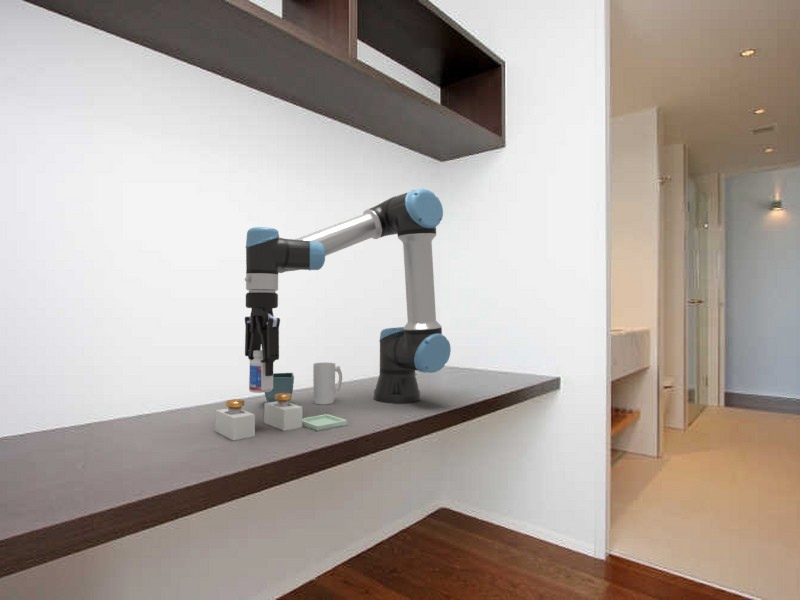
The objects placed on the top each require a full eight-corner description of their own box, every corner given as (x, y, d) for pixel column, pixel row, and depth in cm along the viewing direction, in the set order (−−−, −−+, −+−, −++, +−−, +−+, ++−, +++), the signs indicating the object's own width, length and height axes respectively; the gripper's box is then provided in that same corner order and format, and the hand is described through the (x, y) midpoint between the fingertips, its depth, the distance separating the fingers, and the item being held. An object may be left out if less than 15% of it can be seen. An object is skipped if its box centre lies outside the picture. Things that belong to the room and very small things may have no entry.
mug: (320, 405, 140) (320, 365, 140) (308, 402, 145) (309, 363, 145) (347, 401, 147) (348, 363, 147) (335, 398, 152) (336, 361, 152)
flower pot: (262, 408, 135) (263, 377, 135) (263, 402, 144) (263, 373, 144) (293, 407, 138) (294, 376, 138) (292, 401, 146) (292, 372, 146)
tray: (327, 418, 125) (327, 413, 125) (347, 425, 118) (347, 420, 118) (297, 424, 119) (297, 419, 119) (317, 431, 112) (317, 426, 112)
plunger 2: (286, 419, 120) (286, 392, 120) (294, 422, 117) (294, 394, 117) (271, 422, 118) (272, 394, 118) (279, 425, 115) (280, 396, 115)
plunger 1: (239, 428, 112) (239, 398, 112) (246, 431, 109) (247, 401, 109) (222, 430, 109) (223, 400, 109) (229, 434, 106) (230, 403, 106)
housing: (281, 419, 123) (282, 400, 123) (302, 427, 116) (302, 407, 116) (215, 431, 111) (215, 410, 111) (233, 440, 103) (233, 417, 104)
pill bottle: (258, 394, 110) (258, 352, 110) (244, 391, 113) (244, 350, 113) (277, 390, 114) (277, 350, 114) (263, 388, 117) (264, 349, 117)
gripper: (230, 292, 118) (229, 384, 117) (265, 291, 104) (264, 395, 104) (258, 292, 123) (257, 381, 123) (295, 291, 109) (294, 391, 109)
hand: (261, 387), depth 113 cm, fingers closed on pill bottle, 5 cm apart
